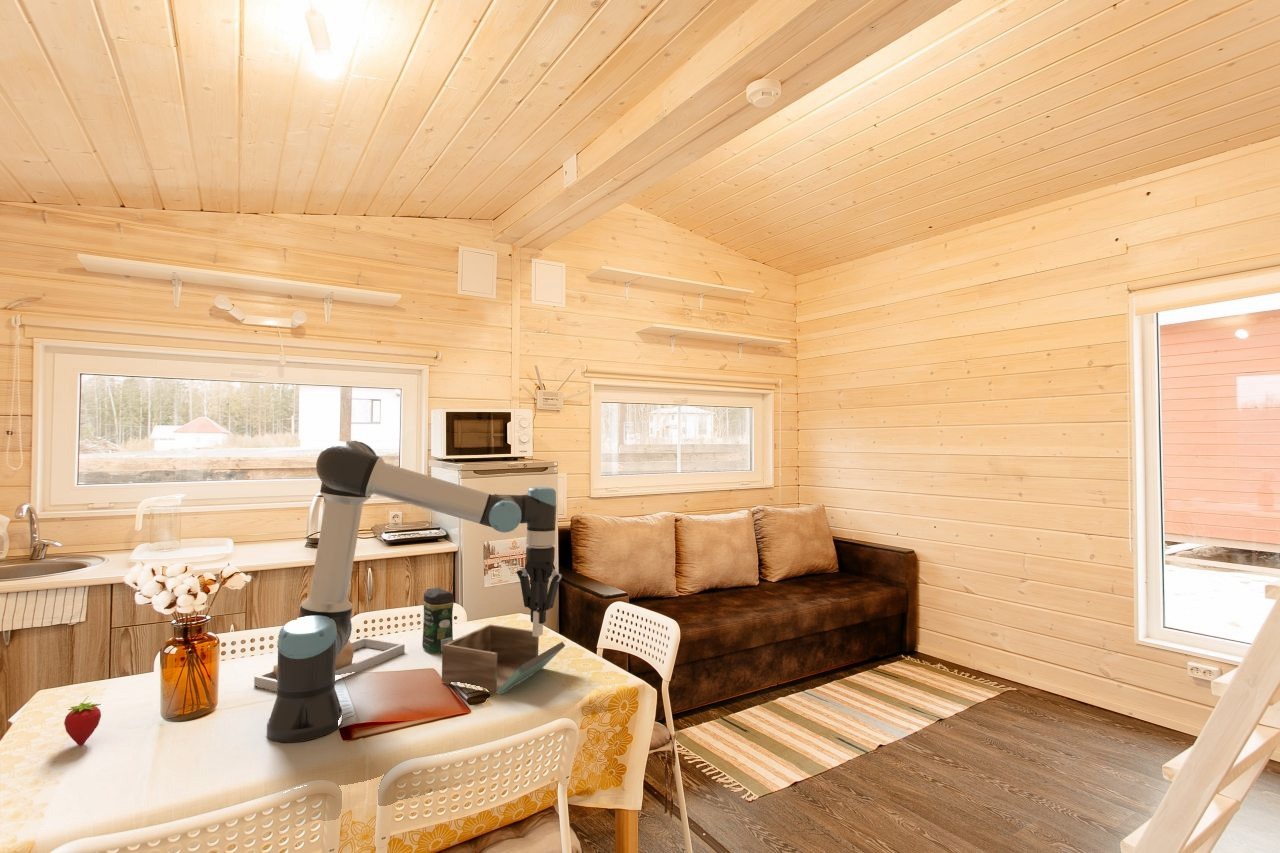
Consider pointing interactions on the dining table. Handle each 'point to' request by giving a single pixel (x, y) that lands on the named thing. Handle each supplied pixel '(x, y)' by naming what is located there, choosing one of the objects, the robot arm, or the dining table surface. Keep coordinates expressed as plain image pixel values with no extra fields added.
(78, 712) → the decorative fruit
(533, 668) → the panel
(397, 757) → the dining table surface
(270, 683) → the serving tray
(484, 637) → the crate
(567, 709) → the dining table surface
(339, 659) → the squash
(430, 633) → the coffee jar
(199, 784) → the dining table surface
